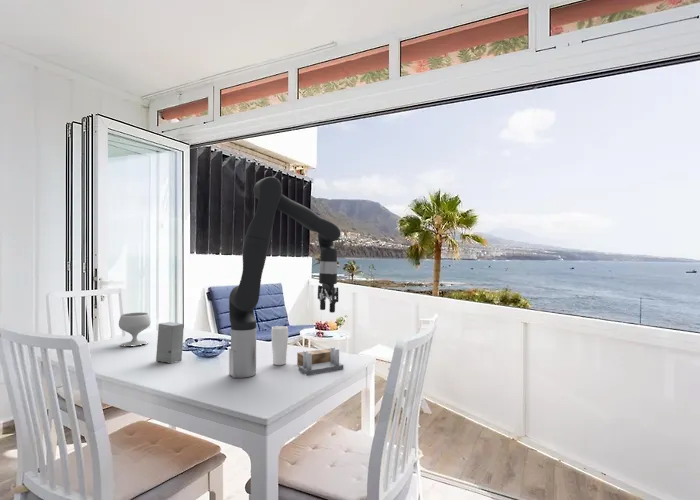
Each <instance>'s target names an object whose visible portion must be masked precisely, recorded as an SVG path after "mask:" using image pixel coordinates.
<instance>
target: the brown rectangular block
mask: <svg viewBox="0 0 700 500" xmlns="http://www.w3.org/2000/svg"><path fill="white" fill-rule="evenodd" d="M307 351H308V353H312V364H318V363H325V362H331V347H330V348H324V349H317V350H316V349H315V350H307ZM296 355H297V358H296V359H297V360H296V363H297V365H298V367H299V366H303V351H301V352H297V354H296Z"/></svg>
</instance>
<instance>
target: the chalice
mask: <svg viewBox="0 0 700 500" xmlns="http://www.w3.org/2000/svg"><path fill="white" fill-rule="evenodd" d="M150 326H151V317H150V315H149V313H148V312H130V313H124V314H123V313H122V314H121V315H120V317H119V321H118V327H119V329H120V330H122V331H123V332H126V333H128V334H130V335H131V336H132V339H131V340H130V341H127V342H123V343H120V346H121V345H125V346H124V347H126V346H131V345H140V344H145V345H147V344H148V343H147V342H148V341H147V340H139V339H138V335H139V334H140V333H141V332H143V331H145V330H147V328H149V327H150ZM146 341H147V342H146ZM146 343H147V344H146Z"/></svg>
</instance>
